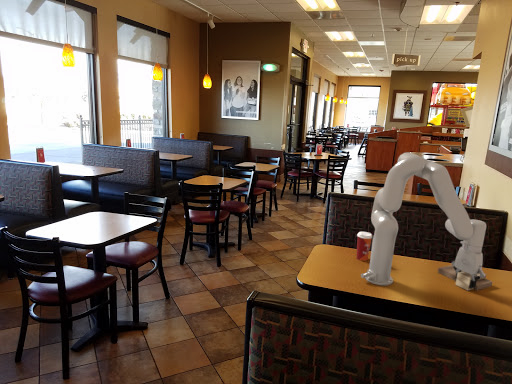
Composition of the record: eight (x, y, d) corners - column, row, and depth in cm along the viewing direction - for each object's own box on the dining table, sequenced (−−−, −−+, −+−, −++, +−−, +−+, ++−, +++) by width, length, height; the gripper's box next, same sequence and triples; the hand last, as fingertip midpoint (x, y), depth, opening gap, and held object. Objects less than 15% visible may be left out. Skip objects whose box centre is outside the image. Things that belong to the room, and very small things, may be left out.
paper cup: (366, 262, 190) (370, 237, 187) (352, 259, 194) (355, 233, 191) (371, 258, 197) (374, 233, 194) (357, 254, 201) (360, 230, 198)
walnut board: (491, 286, 171) (492, 281, 170) (476, 290, 166) (477, 285, 165) (452, 269, 188) (453, 264, 188) (437, 272, 183) (438, 267, 183)
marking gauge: (488, 284, 172) (490, 272, 171) (467, 290, 165) (470, 278, 164) (476, 279, 177) (478, 267, 176) (455, 284, 170) (457, 272, 169)
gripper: (448, 241, 170) (442, 277, 174) (486, 255, 155) (478, 294, 159) (459, 239, 173) (452, 275, 178) (496, 253, 159) (488, 291, 163)
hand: (464, 284), depth 168 cm, fingers closed on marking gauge, 6 cm apart
